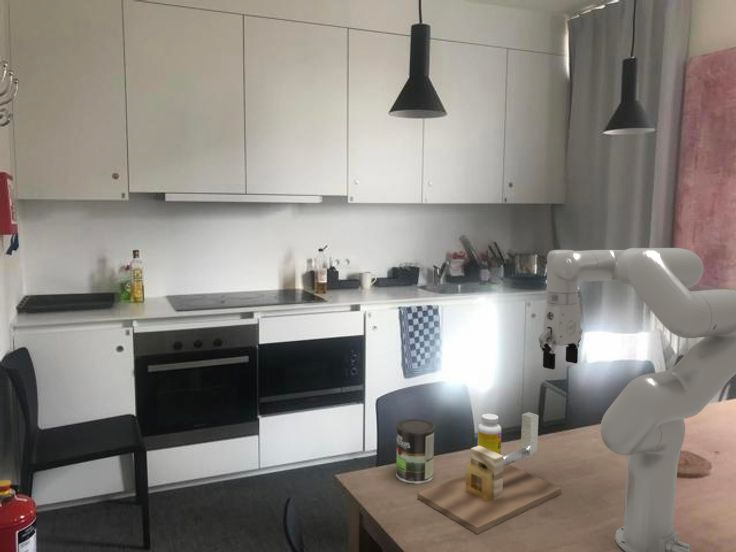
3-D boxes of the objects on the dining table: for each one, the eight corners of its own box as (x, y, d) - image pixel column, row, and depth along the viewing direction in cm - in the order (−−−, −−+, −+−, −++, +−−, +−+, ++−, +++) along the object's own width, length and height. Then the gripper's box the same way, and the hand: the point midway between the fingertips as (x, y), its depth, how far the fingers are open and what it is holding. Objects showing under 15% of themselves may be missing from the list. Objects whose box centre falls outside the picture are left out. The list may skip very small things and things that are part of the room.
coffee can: (408, 487, 153) (409, 435, 151) (389, 471, 162) (389, 422, 160) (441, 479, 158) (442, 428, 156) (420, 464, 167) (421, 416, 165)
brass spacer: (492, 499, 144) (493, 472, 143) (486, 502, 142) (487, 474, 142) (471, 488, 149) (471, 462, 148) (465, 490, 148) (466, 464, 147)
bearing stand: (561, 493, 150) (563, 448, 148) (477, 534, 131) (478, 482, 130) (499, 466, 166) (501, 425, 164) (417, 498, 147) (418, 452, 146)
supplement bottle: (500, 465, 166) (502, 421, 165) (476, 463, 168) (478, 419, 166) (500, 455, 173) (501, 413, 171) (477, 453, 174) (478, 411, 173)
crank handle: (527, 452, 159) (529, 412, 157) (536, 455, 156) (538, 415, 155) (482, 469, 148) (483, 427, 147) (491, 474, 146) (492, 430, 144)
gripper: (554, 303, 140) (552, 373, 142) (594, 297, 151) (592, 362, 153) (528, 300, 146) (527, 367, 148) (568, 294, 157) (567, 357, 158)
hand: (560, 365), depth 150 cm, fingers open, 9 cm apart
